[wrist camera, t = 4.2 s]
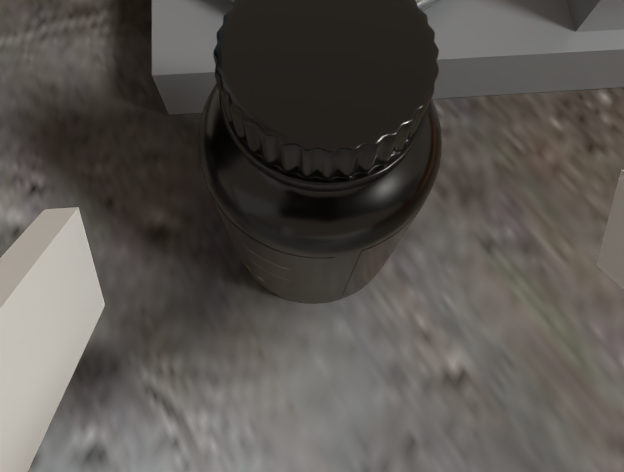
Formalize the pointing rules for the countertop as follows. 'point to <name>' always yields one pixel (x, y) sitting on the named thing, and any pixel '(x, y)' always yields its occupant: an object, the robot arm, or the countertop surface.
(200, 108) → the scale
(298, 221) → the supplement bottle
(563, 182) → the countertop surface
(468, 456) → the countertop surface
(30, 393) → the robot arm
